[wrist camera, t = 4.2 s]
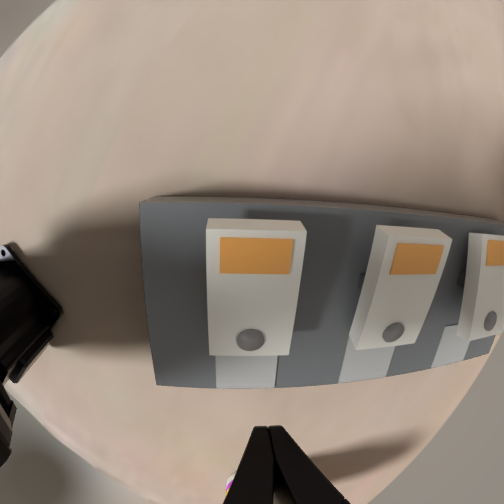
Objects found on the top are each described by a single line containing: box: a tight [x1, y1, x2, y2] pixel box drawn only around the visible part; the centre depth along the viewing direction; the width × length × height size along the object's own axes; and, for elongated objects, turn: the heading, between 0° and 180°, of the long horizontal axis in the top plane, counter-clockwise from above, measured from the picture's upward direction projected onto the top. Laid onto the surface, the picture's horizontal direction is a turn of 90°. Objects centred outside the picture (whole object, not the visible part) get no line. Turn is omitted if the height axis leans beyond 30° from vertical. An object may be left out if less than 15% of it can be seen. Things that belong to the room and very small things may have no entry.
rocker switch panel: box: [139, 196, 504, 389], centre depth 16 cm, size 24×10×4 cm, turn 88°
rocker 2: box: [456, 233, 504, 341], centre depth 14 cm, size 6×4×1 cm, turn 178°
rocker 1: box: [206, 218, 307, 356], centre depth 12 cm, size 6×4×1 cm, turn 177°
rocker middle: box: [349, 225, 452, 350], centre depth 13 cm, size 6×4×1 cm, turn 177°
